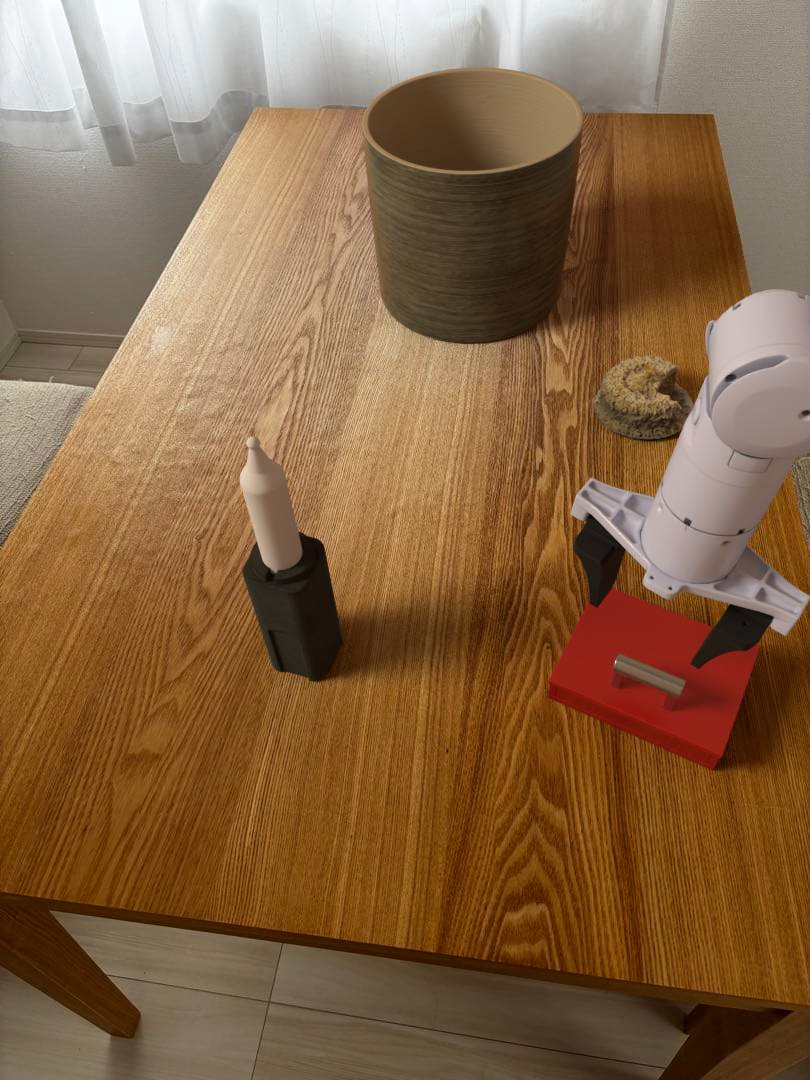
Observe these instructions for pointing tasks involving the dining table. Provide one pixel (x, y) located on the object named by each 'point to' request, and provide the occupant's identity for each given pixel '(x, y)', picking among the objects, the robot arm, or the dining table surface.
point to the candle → (287, 575)
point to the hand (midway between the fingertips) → (649, 625)
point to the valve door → (654, 671)
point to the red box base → (633, 728)
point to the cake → (643, 399)
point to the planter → (472, 199)
